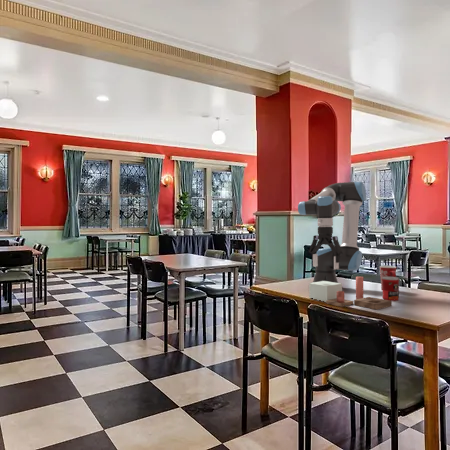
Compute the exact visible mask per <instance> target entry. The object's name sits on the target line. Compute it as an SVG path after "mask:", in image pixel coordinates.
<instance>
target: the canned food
mask: <svg viewBox="0 0 450 450" xmlns="http://www.w3.org/2000/svg"><path fill="white" fill-rule="evenodd" d="M399 278H400V277H398V276H396V277H383V280H382V284H383V290H382V299H384V300H390V301H392V302H395V301H399V299H400V279H399Z"/></svg>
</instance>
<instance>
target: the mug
mask: <svg viewBox="0 0 450 450" xmlns="http://www.w3.org/2000/svg"><path fill="white" fill-rule="evenodd" d="M379 272H380V273H379V274H380V288H381V291H383V284H382V280H383V277H397V266H395V265H393V266H392V265H380V266H379Z"/></svg>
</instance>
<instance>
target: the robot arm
mask: <svg viewBox="0 0 450 450" xmlns="http://www.w3.org/2000/svg"><path fill="white" fill-rule="evenodd" d="M366 199H367V190H366V186H365V184H364V183H363V182H362V181H347V182H336V183H332V184H329V185H328V186H326V187H324V188H323V189H322V190H321V192H320V193H318V194H317V195H315V196H313V197H312V198H310V199H308V200H306V201H299V203H298V205H297V212H298V214H299V215H300V216H302V215H303V216H311V215H312V216H317V226H318V227H317V235H313V238H312V242H311V244H310V248H309V250H308V253H310V254H311V260H312V267H314V268H315V273H314V277H313V281H312V283H313V282H320V281H328V282H335V283H339V281H338V276H337V275H336V271H337V270H340V271H350V272H351V271H358V270H359V269H360V267H361V265H362V261H363V253H362V251H361V250H360V248H359V247H358V232H359V217H360V208H361V206H362V205H363V202H365V201H366ZM340 202H342V204H341V203H340ZM341 205H343V206H344V210H343V211H344V212H343V223H342V224H343V225H342V226H343V227H342V233H341V234H342V235H341V236H342V237H341V244H340V241H339V238H338V235H336V236H333V233H334V232H333V231H334V230H333V229H334V227H333V225H334V219H333V218H334V217H333V216H334V215H338V214H339V213H340V212H341V210H342V206H341ZM322 245H325V246H328V247H325V248H321V247H322Z"/></svg>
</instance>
